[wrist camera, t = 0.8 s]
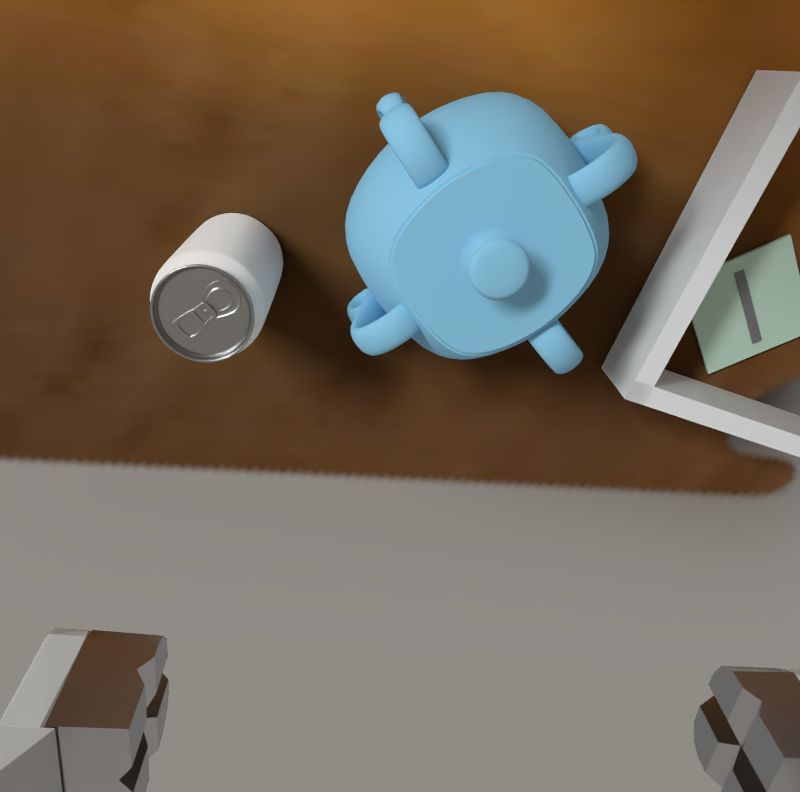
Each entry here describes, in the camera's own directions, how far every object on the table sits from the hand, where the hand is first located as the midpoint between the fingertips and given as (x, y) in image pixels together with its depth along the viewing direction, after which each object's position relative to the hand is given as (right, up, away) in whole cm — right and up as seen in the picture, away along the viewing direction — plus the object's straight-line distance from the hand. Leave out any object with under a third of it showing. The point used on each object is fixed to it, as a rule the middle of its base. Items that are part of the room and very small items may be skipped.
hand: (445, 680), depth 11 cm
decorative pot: (+4, +17, +39) cm, 43 cm away
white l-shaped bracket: (+27, +13, +42) cm, 51 cm away
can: (-12, +14, +40) cm, 44 cm away
